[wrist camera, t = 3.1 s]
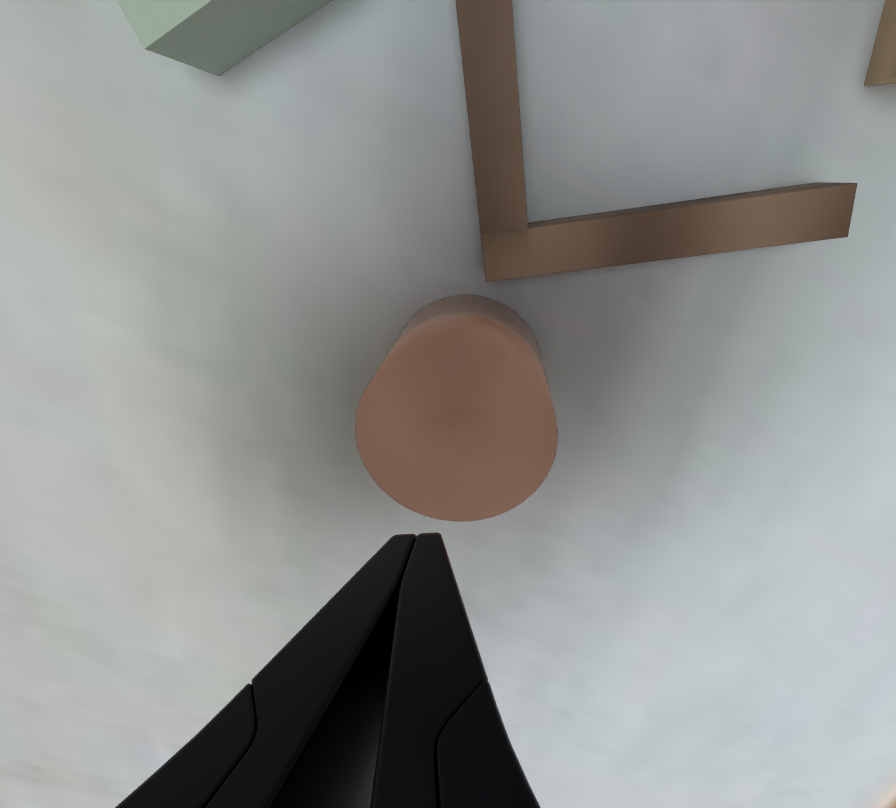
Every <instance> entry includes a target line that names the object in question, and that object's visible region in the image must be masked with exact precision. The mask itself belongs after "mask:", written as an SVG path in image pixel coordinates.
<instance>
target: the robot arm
mask: <svg viewBox="0 0 896 808" xmlns="http://www.w3.org/2000/svg"><path fill="white" fill-rule="evenodd" d="M115 808H540V806H539V804H538V802H537V799H536V797H535V795H534V793H533V791H532V789H531V787H530V785H529V783H528V781H527V779H526V776H525V774H524V772H523V770H522V767H521V765H520V763H519V761H518V759H517V756H516V754H515V752H514V750H513V747H512V745H511V743H510V740H509V738H508V735H507V732H506V730H505V727H504V724H503V721H502V719H501V716H500V713H499V711H498V708H497V705H496V702H495V699H494V696H493V692H492V689H491V686H490V684H489V682H488V678H487V675H486V672H485V669H484V666H483V663H482V659H481V656H480V653H479V650H478V647H477V644H476V641H475V638H474V635H473V632H472V629H471V626H470V622H469V619H468V616H467V613H466V610H465V607H464V604H463V601H462V598H461V595H460V592H459V589H458V585H457V582H456V579H455V576H454V573H453V570H452V567H451V564H450V561H449V558H448V555H447V552H446V548H445V545H444V542H443V539H442V536H441V534H440V533H421V534H419V535H418V536H416V535H415V534H402V535H394V536H393V537H391V538H390V539H389V540H388V541H387V542H386V543H385V544H384V545H383V546H382V547H381V548H380V550H379V551H378V552H377V553H376V554H375V555H374V556H373V557H372V558H371V559H370V560H369V561H368V562H367V563H366V564H365V565H364V566H363V567H362V568H361V569H360V570H359V571H358V572H357V573H356V574H355V575H354V576H353V577H352V578H351V579H350V580H349V581H348V582H347V583H346V584H345V585H344V586H343V587H342V588H341V589H340V590H339V591H338V592H337V593H336V594H335V595H334V596H333V597H332V598H331V599H330V600H329V601H328V603H327V604H326V605H325V606H324V607H323V608H322V609H321V610H320V611H319V612H318V613H317V614H316V615H315V616H314V617H313V618H312V619H311V620H310V621H309V622H308V623H307V624H306V625H305V626H304V627H303V628H302V629H301V630H300V631H299V632H298V633H297V634H296V635H295V636H294V637H293V638H292V639H291V640H290V641H289V642H288V643H287V644H286V645H285V646H284V647H283V648H282V649H281V650H280V651H279V652H278V653H277V654H276V655H275V657H274V658H273V659H272V660H271V661H270V662H269V663H268V664H267V665H266V666H265V667H264V668H263V669H262V670H261V671H260V672H259V673H258V674H257V675H256V676H255V677H254V678H253V679H252V685H251V684H247V685H246V686H245V687H244V688H243V689H242V690H241V691H240V692H239V693H238V694H237V695H236V696H235V697H234V698H233V699H232V700H231V701H230V702H229V703H228V704H227V705H226V706H225V707H224V708H223V709H222V710H221V711H220V712H219V713H218V714H217V715H216V716H215V717H214V718H213V719H212V720H211V721H210V722H209V723H208V724H207V725H206V726H205V727H204V728H203V729H202V730H201V731H200V732H199V733H198V734H197V735H195V736H194V737H193V738H192V739H191V740H190V741H189V742H188V743H187V744H186V745H185V746H183V747H182V748H181V749H180V750H179V751H178V752H177V753H176V754H175V755H174V756H173V757H171V758H170V759H169V760H168V761H167V762H166V763H165V764H164V765H163V766H162V767H160V768H159V769H158V770H157V771H156V772H155V773H154V774H153V775H152V776H150V777H149V778H148V779H147V780H146V781H145V782H144V783H142V784H141V785H140V786H139V787H138V788H137V789H136V790H135V791H133V792H132V793H131V794H130V795H129V796H128V797H127V798H125V799H124V800H123V801H122V802H121V803H120V804H119V805H118V806H116V807H115Z"/></svg>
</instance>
